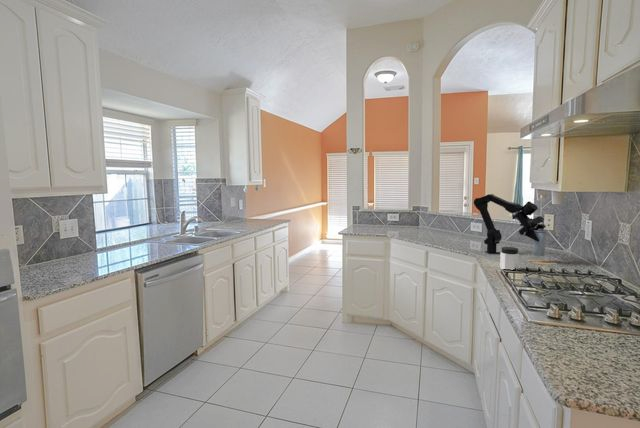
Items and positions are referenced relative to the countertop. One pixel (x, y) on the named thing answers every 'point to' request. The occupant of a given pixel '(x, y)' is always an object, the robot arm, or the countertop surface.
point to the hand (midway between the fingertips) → (541, 240)
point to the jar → (509, 258)
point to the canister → (539, 243)
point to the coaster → (541, 261)
